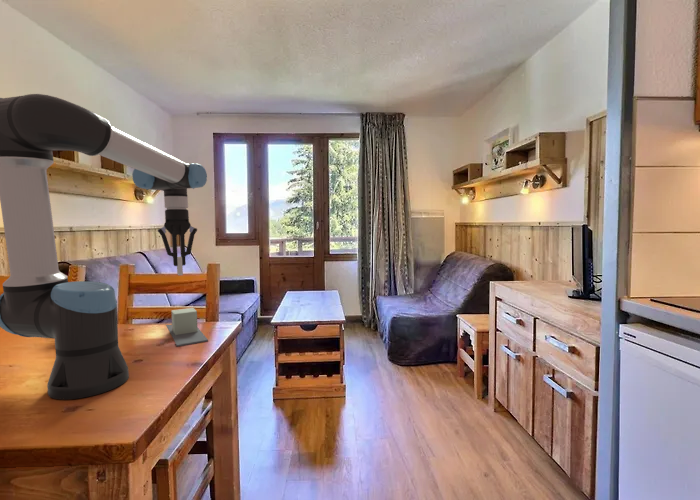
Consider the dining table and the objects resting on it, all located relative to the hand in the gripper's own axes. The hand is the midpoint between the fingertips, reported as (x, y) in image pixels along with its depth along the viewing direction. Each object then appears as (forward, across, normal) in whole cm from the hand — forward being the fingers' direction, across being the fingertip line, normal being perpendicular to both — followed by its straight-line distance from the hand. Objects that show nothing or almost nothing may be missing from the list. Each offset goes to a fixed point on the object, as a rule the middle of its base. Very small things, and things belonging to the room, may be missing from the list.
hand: (180, 274), depth 131 cm
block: (+15, 0, +5) cm, 16 cm away
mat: (+19, 0, +10) cm, 21 cm away
